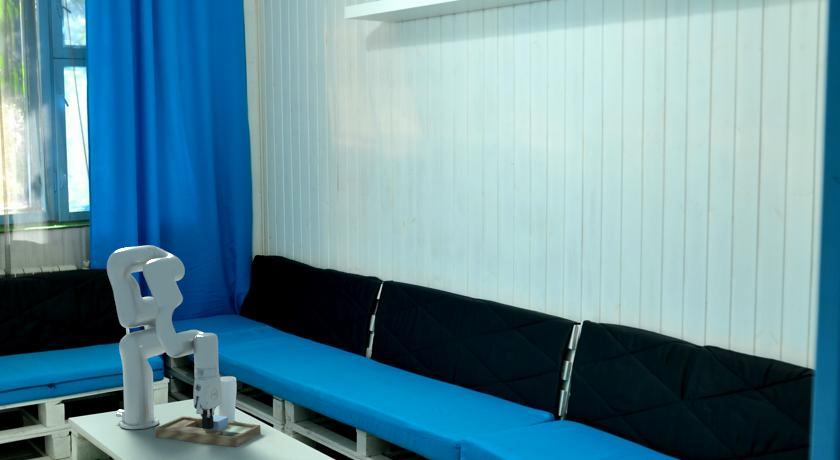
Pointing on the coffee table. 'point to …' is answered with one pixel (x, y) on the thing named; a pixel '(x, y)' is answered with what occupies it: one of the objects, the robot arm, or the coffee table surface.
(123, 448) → the coffee table surface
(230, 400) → the drinking glass
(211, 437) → the box
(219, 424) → the block
